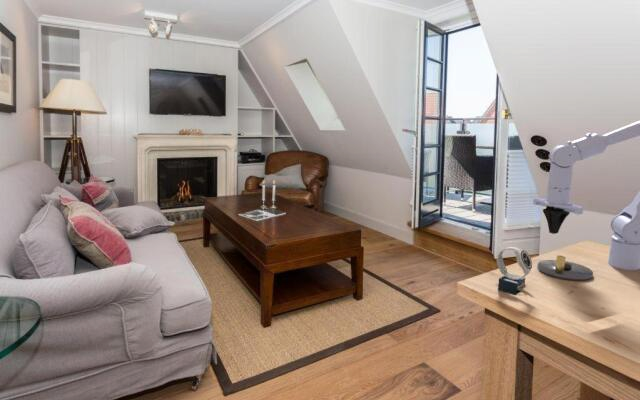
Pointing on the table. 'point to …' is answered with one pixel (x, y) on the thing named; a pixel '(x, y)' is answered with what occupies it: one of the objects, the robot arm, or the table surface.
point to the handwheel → (565, 269)
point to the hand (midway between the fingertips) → (553, 232)
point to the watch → (511, 281)
